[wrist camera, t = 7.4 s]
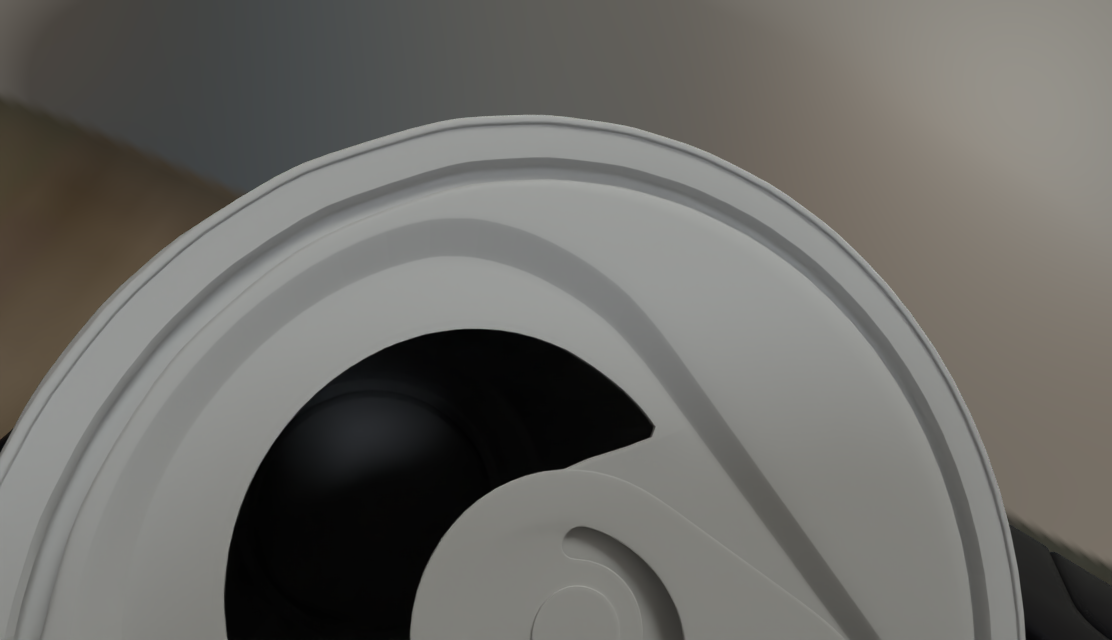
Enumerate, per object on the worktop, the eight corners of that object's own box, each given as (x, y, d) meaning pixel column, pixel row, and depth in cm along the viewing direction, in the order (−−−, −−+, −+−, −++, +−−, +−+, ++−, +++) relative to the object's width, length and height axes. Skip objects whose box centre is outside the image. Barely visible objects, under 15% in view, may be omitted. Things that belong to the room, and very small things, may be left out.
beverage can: (345, 279, 16) (455, -190, 4) (594, 467, 17) (1217, 480, 5) (113, 559, 14) (-797, 1029, 2) (411, 754, 15) (789, 1771, 3)
